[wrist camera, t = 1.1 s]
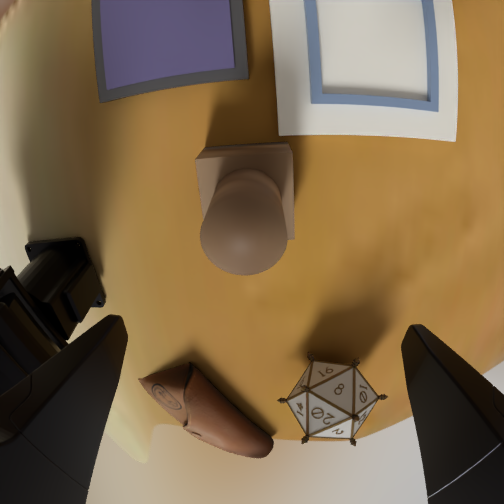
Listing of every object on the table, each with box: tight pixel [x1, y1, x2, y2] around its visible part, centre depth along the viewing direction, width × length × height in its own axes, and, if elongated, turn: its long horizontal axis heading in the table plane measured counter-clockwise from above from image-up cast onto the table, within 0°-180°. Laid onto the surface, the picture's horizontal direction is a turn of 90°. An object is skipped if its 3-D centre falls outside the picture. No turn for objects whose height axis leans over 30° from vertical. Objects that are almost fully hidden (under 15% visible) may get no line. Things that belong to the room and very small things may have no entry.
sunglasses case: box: [138, 362, 274, 458], centre depth 32 cm, size 18×7×7 cm
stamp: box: [195, 142, 295, 275], centre depth 16 cm, size 5×5×8 cm
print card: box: [269, 0, 458, 142], centre depth 14 cm, size 12×12×1 cm
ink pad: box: [92, 0, 249, 103], centre depth 14 cm, size 9×9×1 cm
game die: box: [277, 352, 388, 446], centre depth 25 cm, size 9×8×10 cm
